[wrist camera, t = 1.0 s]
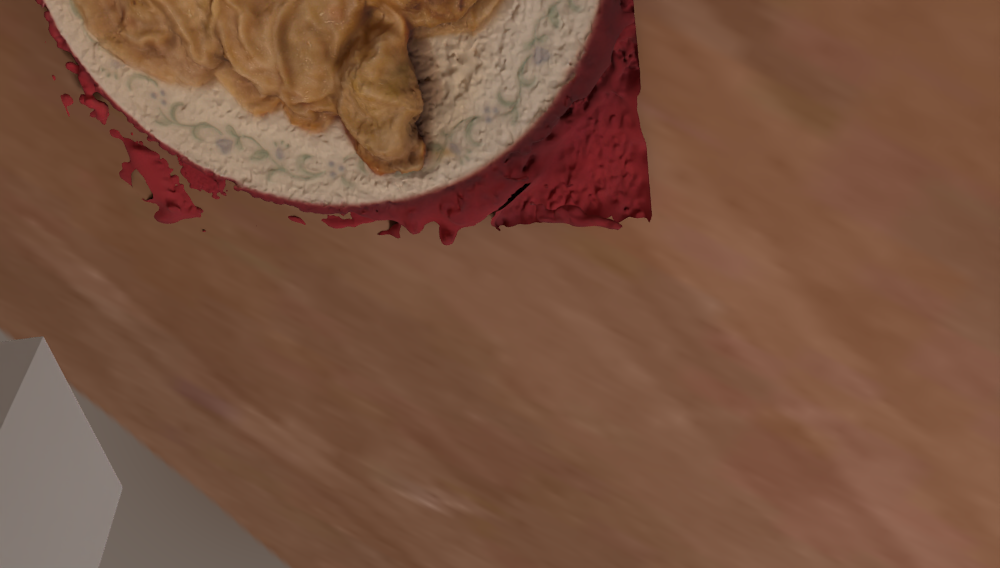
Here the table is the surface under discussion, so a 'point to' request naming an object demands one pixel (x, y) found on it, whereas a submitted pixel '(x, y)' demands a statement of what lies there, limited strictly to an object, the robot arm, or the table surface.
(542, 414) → the table surface
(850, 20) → the table surface
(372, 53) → the plate with food
